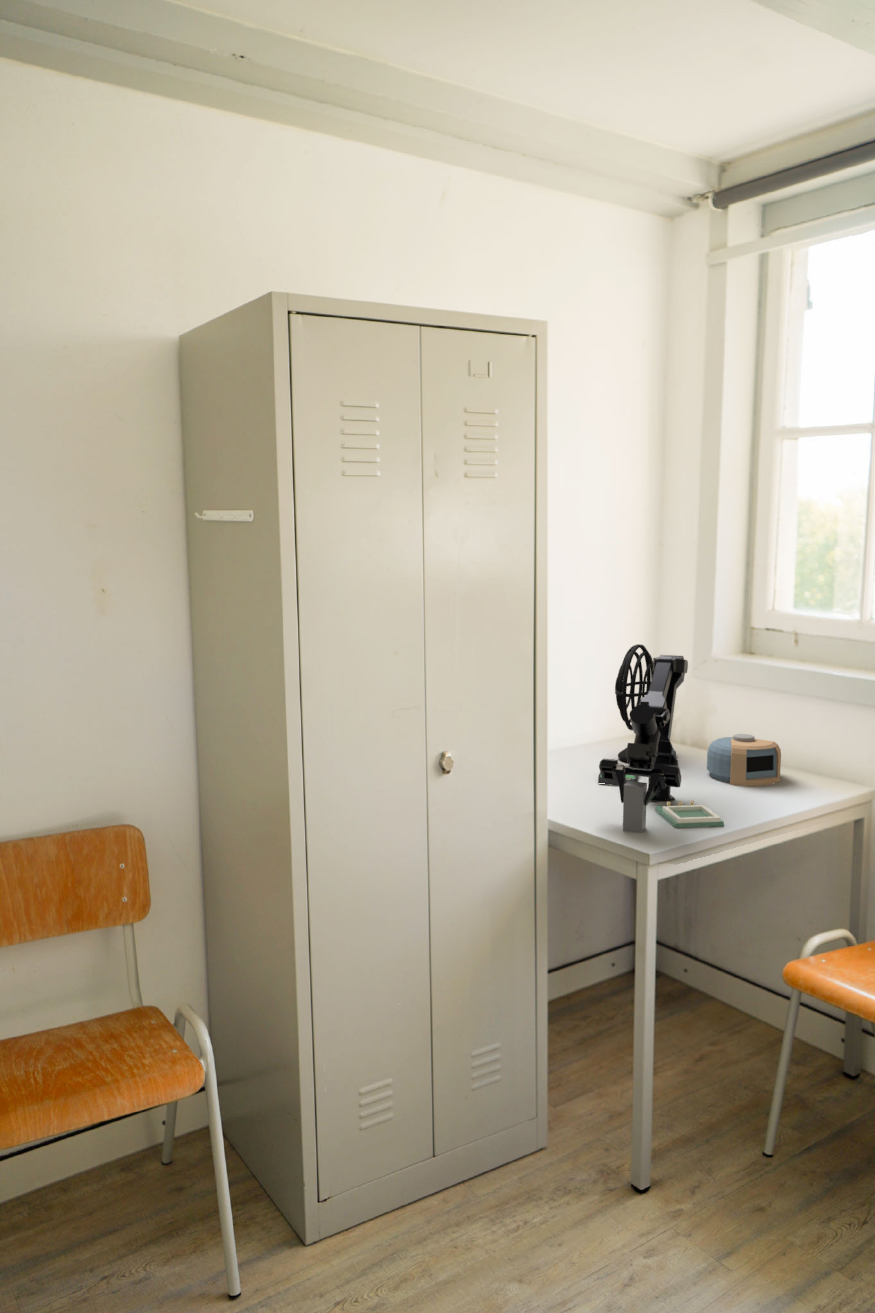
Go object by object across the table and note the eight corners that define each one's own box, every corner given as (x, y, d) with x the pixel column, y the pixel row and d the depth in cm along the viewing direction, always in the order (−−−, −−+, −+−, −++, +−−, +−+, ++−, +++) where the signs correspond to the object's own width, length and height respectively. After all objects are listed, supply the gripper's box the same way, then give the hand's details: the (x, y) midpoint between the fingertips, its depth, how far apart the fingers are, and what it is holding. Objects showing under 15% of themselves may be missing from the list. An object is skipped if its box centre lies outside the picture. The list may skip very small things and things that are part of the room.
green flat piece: (654, 810, 239) (655, 800, 239) (700, 808, 241) (701, 799, 240) (675, 827, 226) (675, 817, 225) (723, 825, 227) (724, 815, 227)
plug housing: (626, 825, 227) (627, 780, 226) (645, 828, 225) (646, 782, 224) (622, 830, 223) (624, 784, 222) (641, 833, 222) (643, 787, 220)
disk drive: (602, 773, 278) (597, 786, 264) (602, 764, 278) (598, 776, 264) (638, 775, 276) (636, 788, 261) (638, 766, 275) (636, 778, 261)
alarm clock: (734, 789, 260) (736, 745, 258) (693, 771, 278) (694, 730, 277) (793, 783, 266) (795, 740, 264) (748, 766, 284) (750, 726, 283)
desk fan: (629, 745, 311) (632, 639, 307) (683, 751, 303) (687, 642, 298) (603, 763, 288) (605, 648, 283) (660, 770, 279) (664, 651, 275)
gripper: (601, 725, 229) (588, 781, 220) (680, 732, 221) (670, 790, 212) (609, 750, 237) (596, 805, 228) (685, 758, 229) (675, 815, 221)
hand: (633, 803), depth 222 cm, fingers open, 5 cm apart
